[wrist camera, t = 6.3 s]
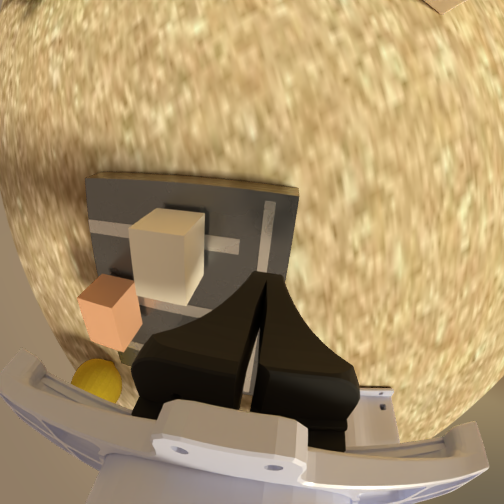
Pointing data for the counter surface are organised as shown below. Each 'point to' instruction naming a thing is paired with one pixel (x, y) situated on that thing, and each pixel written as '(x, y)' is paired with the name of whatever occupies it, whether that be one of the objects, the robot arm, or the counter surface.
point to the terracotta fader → (111, 311)
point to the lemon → (99, 379)
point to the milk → (444, 4)
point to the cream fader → (168, 254)
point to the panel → (215, 239)
